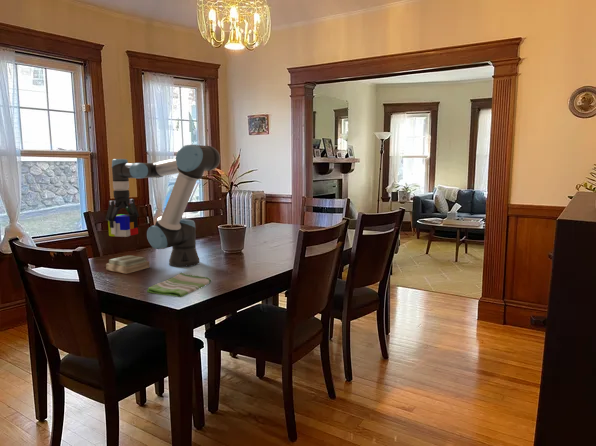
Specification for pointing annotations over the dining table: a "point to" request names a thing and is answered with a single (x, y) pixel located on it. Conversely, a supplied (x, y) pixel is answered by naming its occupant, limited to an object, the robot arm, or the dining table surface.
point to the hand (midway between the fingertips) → (123, 232)
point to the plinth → (127, 269)
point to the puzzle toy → (125, 225)
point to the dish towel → (179, 285)
